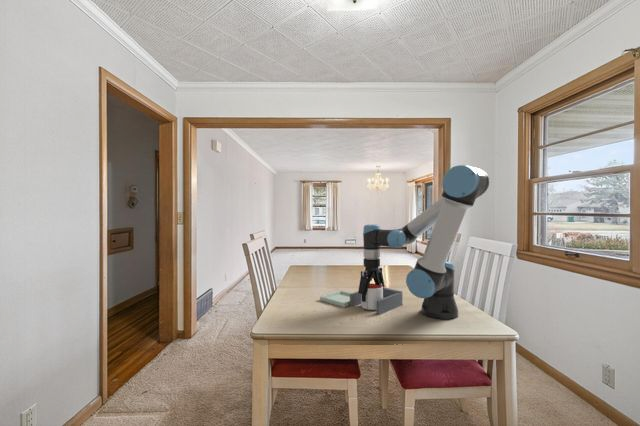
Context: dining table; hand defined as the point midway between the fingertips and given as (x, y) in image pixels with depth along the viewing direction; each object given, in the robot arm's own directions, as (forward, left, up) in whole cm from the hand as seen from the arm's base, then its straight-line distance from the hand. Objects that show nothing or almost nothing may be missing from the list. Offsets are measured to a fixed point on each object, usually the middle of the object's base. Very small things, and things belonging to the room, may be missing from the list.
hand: (372, 305), depth 149 cm
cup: (0, 0, -1) cm, 1 cm away
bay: (0, -4, -1) cm, 4 cm away
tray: (+17, +1, -1) cm, 17 cm away
